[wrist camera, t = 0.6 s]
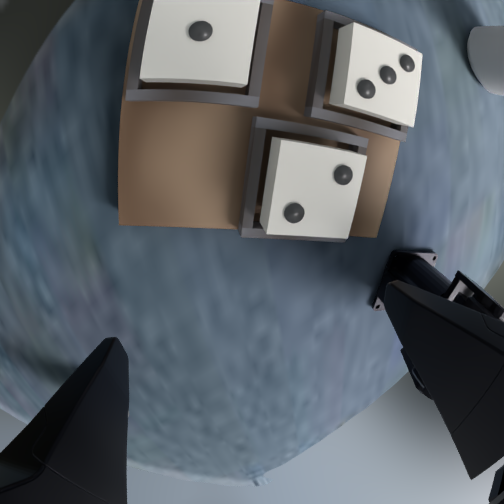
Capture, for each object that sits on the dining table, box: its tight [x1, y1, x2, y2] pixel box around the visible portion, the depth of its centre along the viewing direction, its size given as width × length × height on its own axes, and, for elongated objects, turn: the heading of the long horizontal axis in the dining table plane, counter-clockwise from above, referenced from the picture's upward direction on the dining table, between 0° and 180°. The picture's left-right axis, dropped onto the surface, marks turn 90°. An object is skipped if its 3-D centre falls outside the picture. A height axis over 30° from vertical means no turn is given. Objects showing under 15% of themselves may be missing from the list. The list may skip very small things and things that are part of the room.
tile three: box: [329, 22, 422, 127], centre depth 13 cm, size 5×5×2 cm
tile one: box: [140, 0, 260, 88], centre depth 11 cm, size 5×5×2 cm
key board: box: [118, 0, 417, 242], centre depth 16 cm, size 18×15×3 cm
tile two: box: [260, 137, 367, 239], centre depth 16 cm, size 5×5×2 cm
